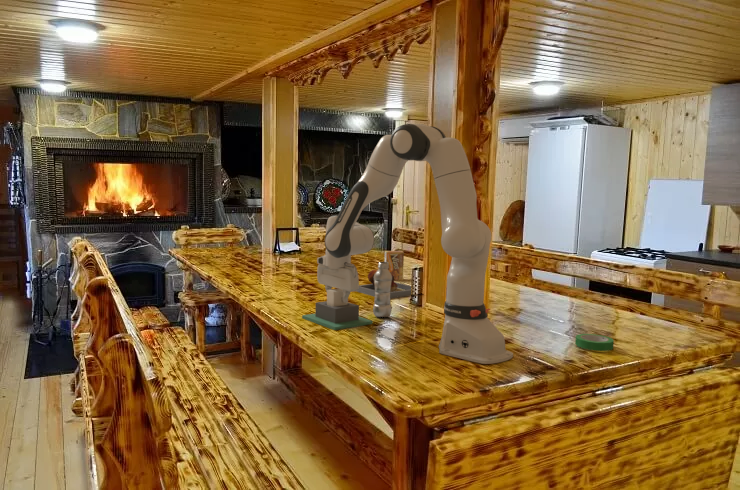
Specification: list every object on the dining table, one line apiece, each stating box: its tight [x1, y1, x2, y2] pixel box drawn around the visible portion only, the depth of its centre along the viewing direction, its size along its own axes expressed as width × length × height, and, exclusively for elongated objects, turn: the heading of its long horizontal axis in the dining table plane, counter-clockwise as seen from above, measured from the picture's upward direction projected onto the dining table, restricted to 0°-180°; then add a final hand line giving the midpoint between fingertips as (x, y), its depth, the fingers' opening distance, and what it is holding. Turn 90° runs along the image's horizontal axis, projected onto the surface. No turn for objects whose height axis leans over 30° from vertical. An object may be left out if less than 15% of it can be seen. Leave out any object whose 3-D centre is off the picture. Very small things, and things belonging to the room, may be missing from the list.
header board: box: [301, 300, 374, 331], centre depth 203 cm, size 20×16×6 cm
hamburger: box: [367, 269, 398, 292], centre depth 259 cm, size 16×13×10 cm
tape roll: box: [575, 333, 615, 352], centre depth 181 cm, size 11×11×3 cm
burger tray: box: [356, 281, 412, 300], centre depth 255 cm, size 20×22×3 cm
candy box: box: [383, 250, 405, 281], centre depth 285 cm, size 9×4×15 cm, turn 103°
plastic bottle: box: [372, 261, 392, 319], centre depth 210 cm, size 6×7×20 cm
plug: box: [326, 288, 349, 307], centre depth 203 cm, size 4×6×9 cm, turn 129°
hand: (337, 300), depth 203 cm, fingers open, 7 cm apart
